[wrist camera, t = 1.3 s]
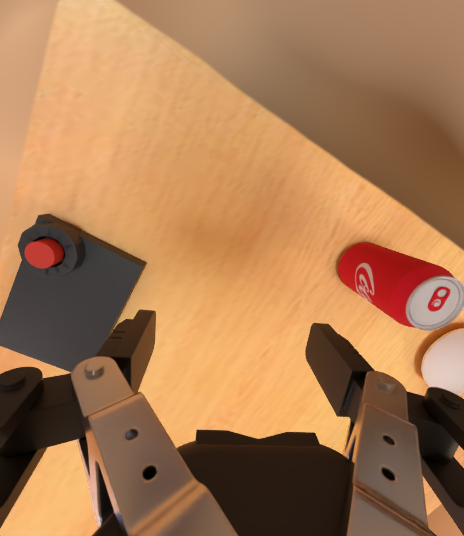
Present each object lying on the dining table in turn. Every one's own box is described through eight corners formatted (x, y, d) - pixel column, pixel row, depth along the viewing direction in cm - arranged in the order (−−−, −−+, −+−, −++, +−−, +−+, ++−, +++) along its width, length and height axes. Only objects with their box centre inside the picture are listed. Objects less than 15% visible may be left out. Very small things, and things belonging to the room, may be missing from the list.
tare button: (41, 233, 25) (29, 236, 24) (68, 246, 26) (58, 250, 24) (32, 256, 26) (20, 260, 24) (59, 268, 27) (48, 273, 25)
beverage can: (328, 280, 33) (389, 328, 21) (346, 236, 31) (423, 262, 20) (369, 290, 34) (449, 341, 22) (388, 247, 32) (486, 279, 20)
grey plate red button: (49, 210, 28) (26, 213, 24) (148, 260, 30) (139, 269, 27) (2, 335, 32) (-22, 351, 28) (92, 369, 34) (79, 388, 31)
